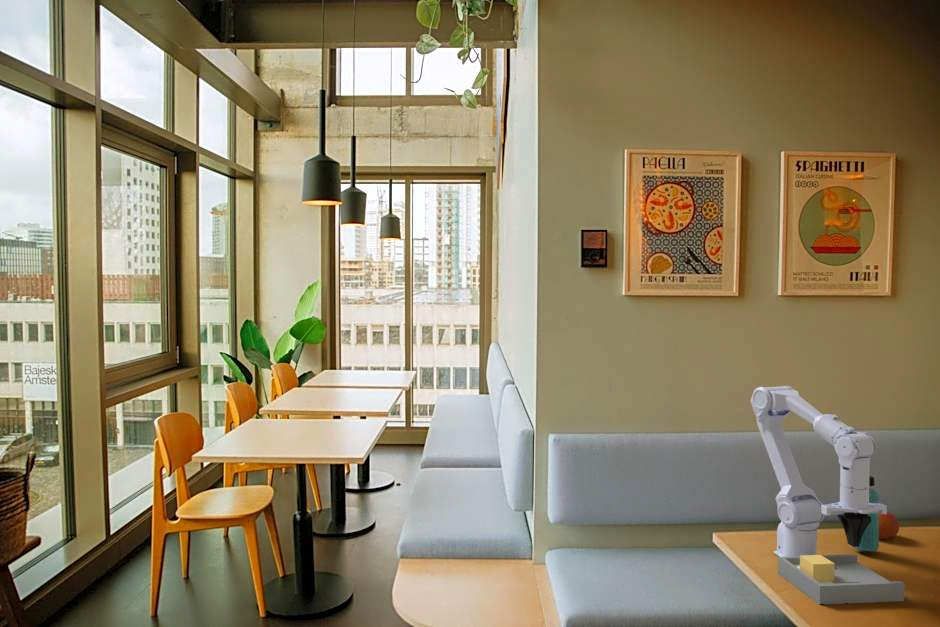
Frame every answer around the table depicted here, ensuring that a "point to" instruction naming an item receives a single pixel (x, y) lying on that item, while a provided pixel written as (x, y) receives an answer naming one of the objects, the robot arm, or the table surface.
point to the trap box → (842, 582)
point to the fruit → (887, 526)
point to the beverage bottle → (871, 524)
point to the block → (817, 567)
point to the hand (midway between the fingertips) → (853, 545)
